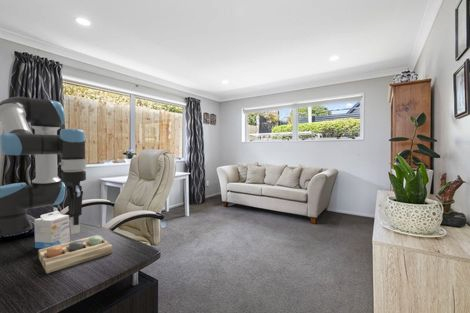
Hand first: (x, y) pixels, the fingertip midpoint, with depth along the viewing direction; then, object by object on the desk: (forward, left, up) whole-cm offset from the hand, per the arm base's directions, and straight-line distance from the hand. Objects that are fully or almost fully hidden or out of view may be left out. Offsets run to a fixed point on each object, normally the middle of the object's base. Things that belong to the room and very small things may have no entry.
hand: (75, 232), depth 88 cm
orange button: (0, -6, -7) cm, 10 cm away
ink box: (-19, -4, -9) cm, 21 cm away
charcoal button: (0, 0, -7) cm, 7 cm away
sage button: (0, +7, -7) cm, 10 cm away
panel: (0, 0, -9) cm, 9 cm away
